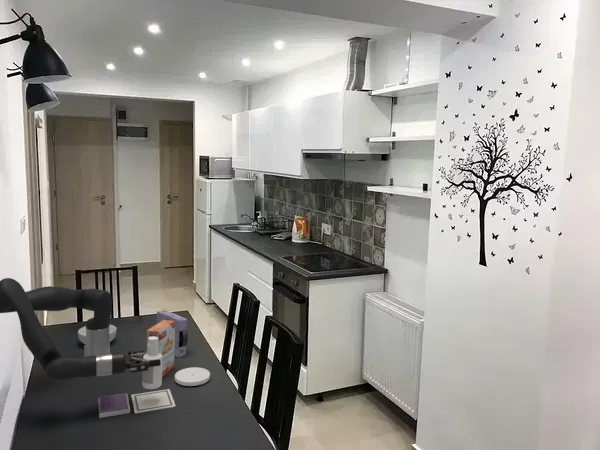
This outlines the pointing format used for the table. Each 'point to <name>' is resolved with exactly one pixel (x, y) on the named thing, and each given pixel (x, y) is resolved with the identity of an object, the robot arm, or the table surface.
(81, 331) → the cereal bowl
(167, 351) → the cracker box
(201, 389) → the table surface
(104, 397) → the ink pad
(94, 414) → the table surface
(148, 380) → the spray bottle
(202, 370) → the plastic lid
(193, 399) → the table surface
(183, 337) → the cake pan box
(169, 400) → the marked sheet
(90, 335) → the robot arm
